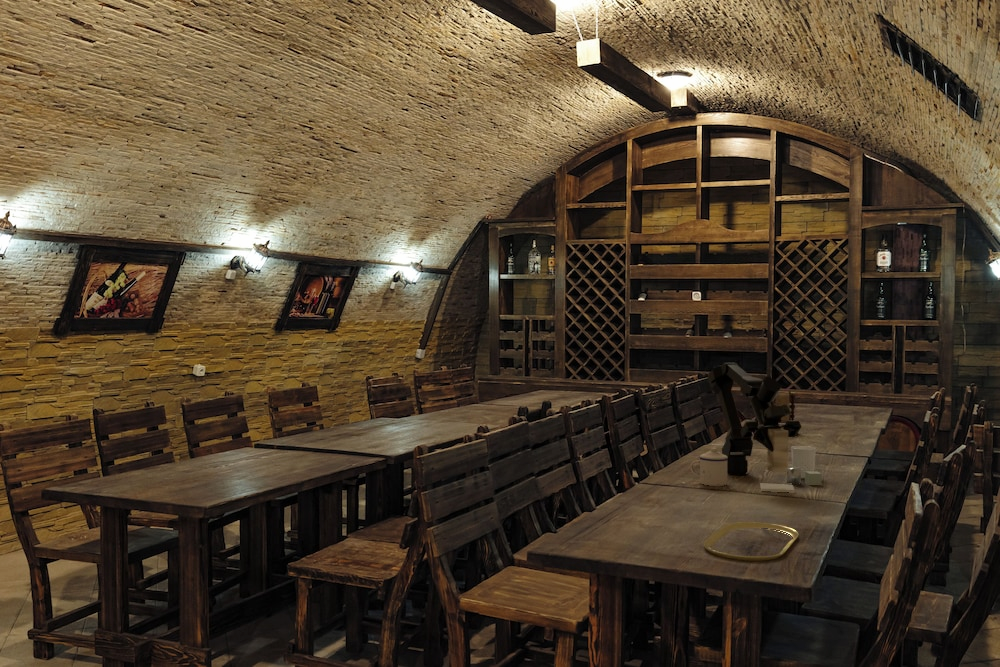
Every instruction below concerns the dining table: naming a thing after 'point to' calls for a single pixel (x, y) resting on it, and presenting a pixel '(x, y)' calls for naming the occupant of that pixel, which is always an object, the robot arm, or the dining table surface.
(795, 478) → the grey cylinder
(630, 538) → the dining table surface
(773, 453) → the oak block
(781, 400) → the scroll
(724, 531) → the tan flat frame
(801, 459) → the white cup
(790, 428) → the robot arm
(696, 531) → the dining table surface
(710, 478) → the teacup with lid
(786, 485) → the tile
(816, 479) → the sage cube
